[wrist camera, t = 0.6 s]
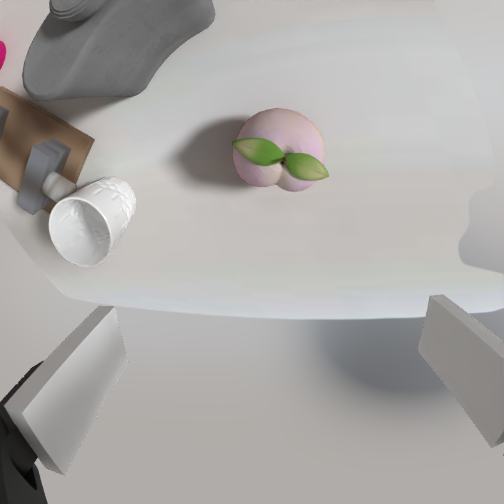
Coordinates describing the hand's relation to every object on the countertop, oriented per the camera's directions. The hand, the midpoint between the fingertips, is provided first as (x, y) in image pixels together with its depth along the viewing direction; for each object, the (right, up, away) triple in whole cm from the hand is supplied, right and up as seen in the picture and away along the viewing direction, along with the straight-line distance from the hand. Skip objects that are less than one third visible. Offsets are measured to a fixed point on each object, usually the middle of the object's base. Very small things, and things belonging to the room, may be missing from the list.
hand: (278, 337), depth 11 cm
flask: (-12, +27, +15) cm, 33 cm away
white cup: (-19, +10, +24) cm, 32 cm away
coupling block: (-32, +18, +19) cm, 41 cm away
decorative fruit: (+1, +16, +22) cm, 27 cm away
